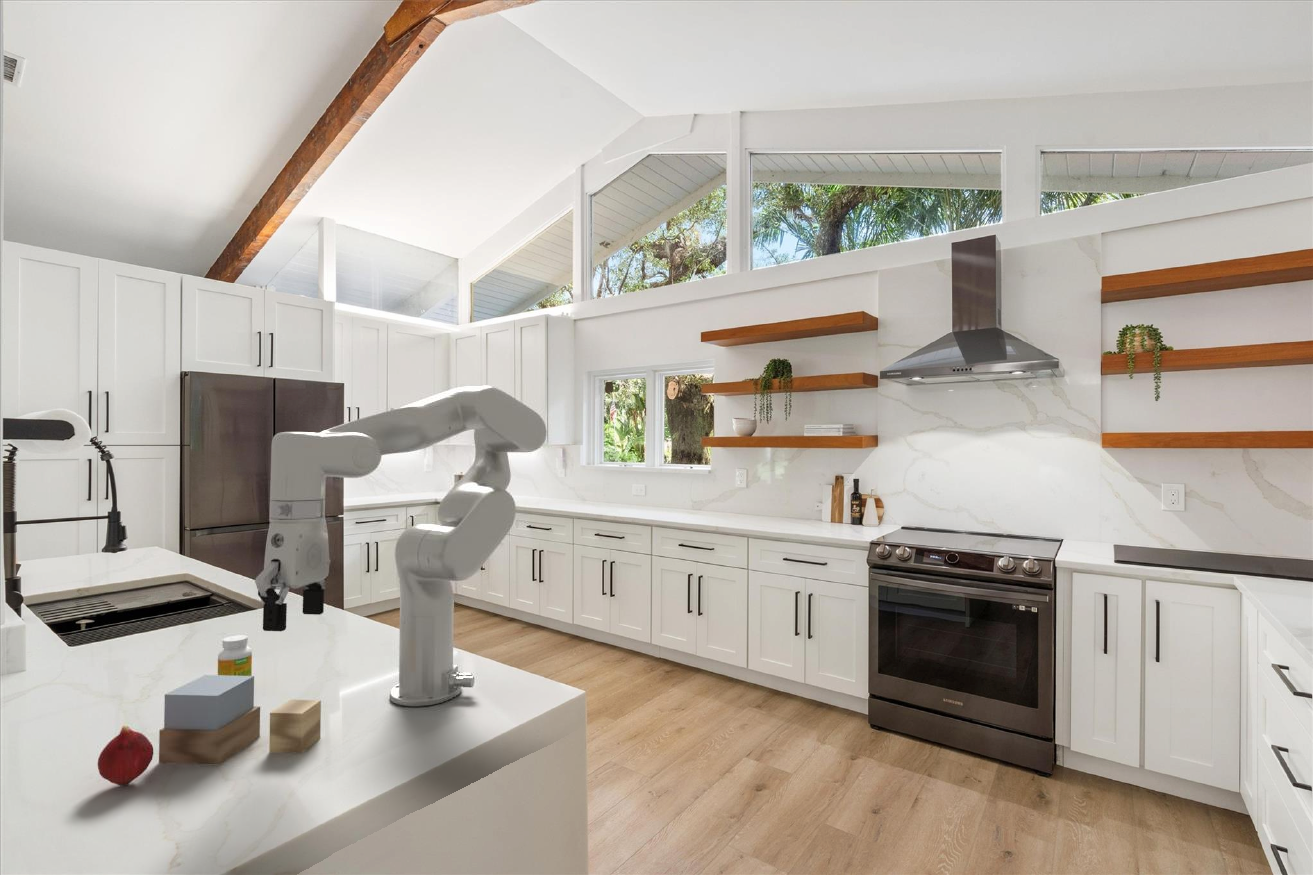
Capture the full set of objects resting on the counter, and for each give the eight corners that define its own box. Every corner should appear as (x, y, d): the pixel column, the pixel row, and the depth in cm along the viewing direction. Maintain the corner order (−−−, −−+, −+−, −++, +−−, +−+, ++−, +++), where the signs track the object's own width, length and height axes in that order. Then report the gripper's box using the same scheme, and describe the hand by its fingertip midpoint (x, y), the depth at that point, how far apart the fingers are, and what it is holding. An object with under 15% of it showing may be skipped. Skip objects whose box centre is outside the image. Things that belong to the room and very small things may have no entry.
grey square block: (253, 707, 101) (254, 676, 102) (217, 730, 94) (217, 695, 94) (204, 706, 102) (205, 674, 102) (164, 728, 94) (164, 694, 94)
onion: (163, 773, 90) (163, 716, 90) (130, 796, 84) (131, 735, 85) (120, 774, 90) (121, 717, 90) (85, 796, 84) (86, 735, 84)
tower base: (259, 738, 102) (260, 706, 102) (218, 766, 93) (219, 731, 93) (205, 736, 102) (205, 705, 102) (158, 764, 93) (159, 729, 93)
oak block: (320, 738, 102) (320, 700, 102) (301, 753, 97) (302, 713, 97) (289, 737, 102) (290, 699, 102) (269, 752, 97) (269, 712, 97)
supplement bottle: (234, 696, 118) (235, 643, 118) (210, 693, 119) (210, 641, 119) (258, 685, 123) (258, 634, 124) (234, 683, 124) (235, 632, 125)
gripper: (286, 517, 91) (283, 638, 90) (350, 507, 108) (347, 609, 108) (235, 516, 91) (231, 637, 91) (307, 506, 108) (304, 607, 108)
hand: (294, 621), depth 99 cm, fingers open, 9 cm apart
